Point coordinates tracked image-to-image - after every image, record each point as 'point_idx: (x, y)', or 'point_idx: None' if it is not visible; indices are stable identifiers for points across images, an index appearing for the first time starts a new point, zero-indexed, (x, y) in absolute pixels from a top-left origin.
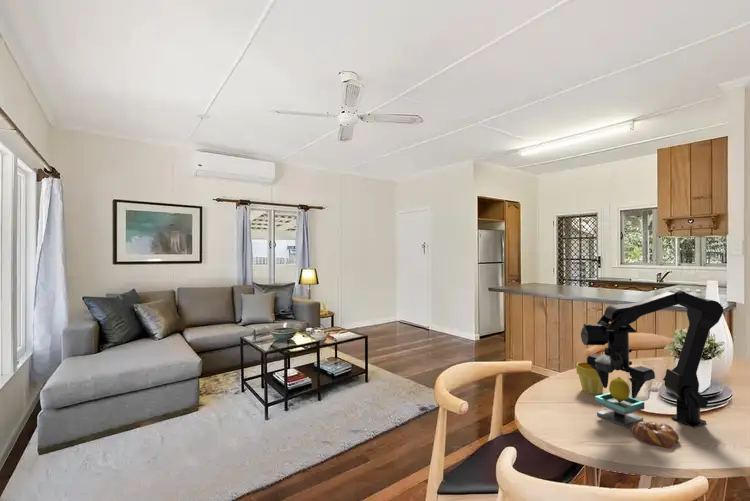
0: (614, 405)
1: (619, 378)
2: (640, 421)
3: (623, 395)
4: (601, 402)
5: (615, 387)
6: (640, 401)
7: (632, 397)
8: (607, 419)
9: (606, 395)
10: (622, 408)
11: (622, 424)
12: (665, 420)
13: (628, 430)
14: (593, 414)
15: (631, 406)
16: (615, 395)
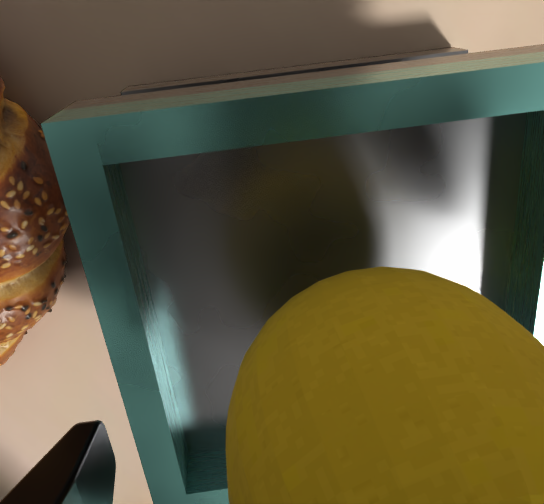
0: (232, 98)
1: None
2: (12, 232)
3: (242, 373)
4: (462, 63)
5: (400, 399)
6: (188, 500)
7: (89, 429)
8: (325, 63)
9: (534, 282)
10: (79, 112)
11: (144, 86)
12: (148, 498)
13: (60, 68)
14: (483, 23)
15: (96, 297)
16: (349, 282)
